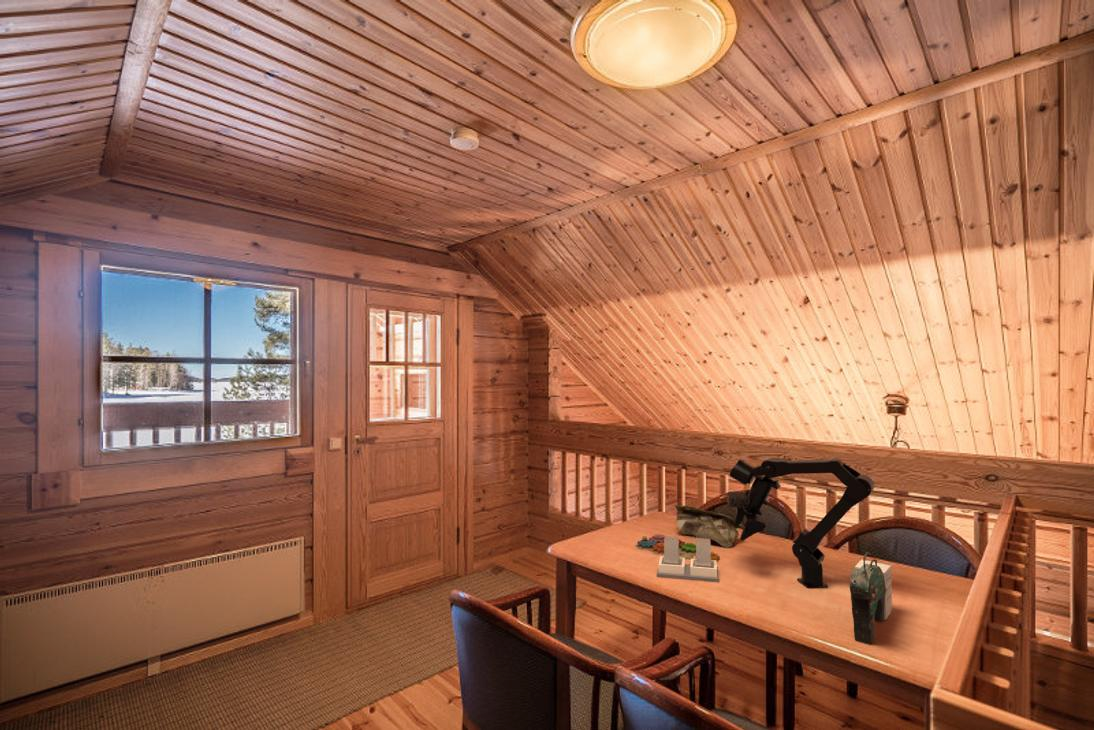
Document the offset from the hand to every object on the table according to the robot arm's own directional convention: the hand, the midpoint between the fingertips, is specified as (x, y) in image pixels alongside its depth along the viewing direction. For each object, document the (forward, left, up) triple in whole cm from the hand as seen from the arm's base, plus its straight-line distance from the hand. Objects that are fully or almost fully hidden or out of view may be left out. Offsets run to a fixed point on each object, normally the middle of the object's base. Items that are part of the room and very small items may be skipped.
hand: (738, 532), depth 178 cm
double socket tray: (-2, +18, -12) cm, 22 cm away
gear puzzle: (+19, +15, -13) cm, 27 cm away
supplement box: (-35, -23, -12) cm, 43 cm away
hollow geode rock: (+32, 0, -12) cm, 35 cm away
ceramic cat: (-44, -15, -12) cm, 48 cm away
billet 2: (-4, +13, -11) cm, 18 cm away
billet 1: (0, +23, -11) cm, 25 cm away
